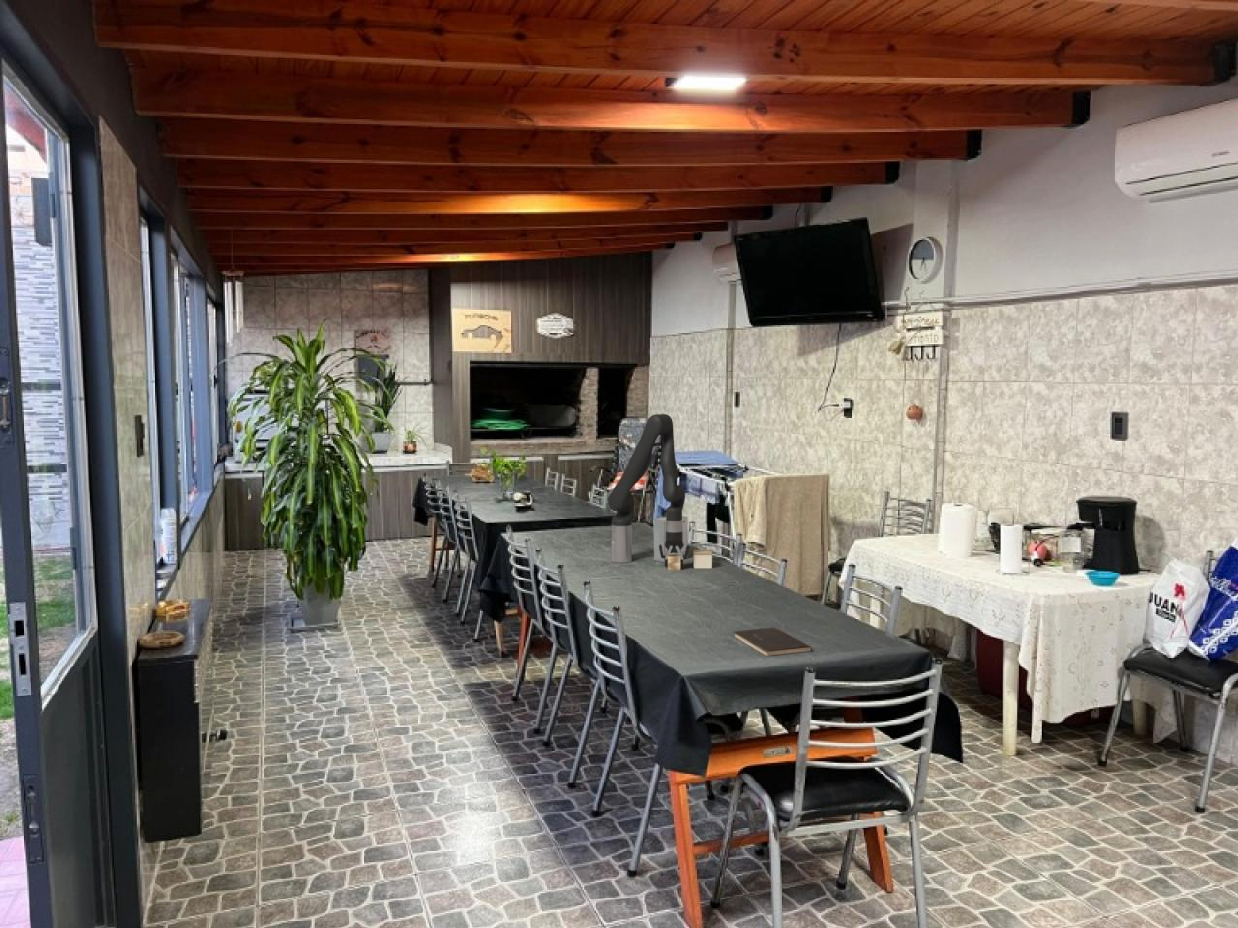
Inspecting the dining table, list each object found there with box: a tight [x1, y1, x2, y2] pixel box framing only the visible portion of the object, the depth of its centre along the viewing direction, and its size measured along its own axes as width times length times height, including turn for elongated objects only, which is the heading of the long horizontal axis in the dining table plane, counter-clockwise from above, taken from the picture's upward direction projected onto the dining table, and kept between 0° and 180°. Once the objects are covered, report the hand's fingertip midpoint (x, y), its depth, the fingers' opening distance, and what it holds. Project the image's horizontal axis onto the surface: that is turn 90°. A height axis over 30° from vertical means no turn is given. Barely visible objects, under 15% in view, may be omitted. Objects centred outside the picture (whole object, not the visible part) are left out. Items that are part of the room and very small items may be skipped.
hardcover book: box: [733, 627, 813, 657], centre depth 300 cm, size 16×23×2 cm
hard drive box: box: [653, 515, 689, 563], centre depth 436 cm, size 16×8×20 cm, turn 130°
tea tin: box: [692, 549, 713, 569], centre depth 420 cm, size 8×8×7 cm
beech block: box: [667, 555, 681, 571], centre depth 415 cm, size 6×6×6 cm
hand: (674, 567), depth 415 cm, fingers closed on beech block, 5 cm apart
